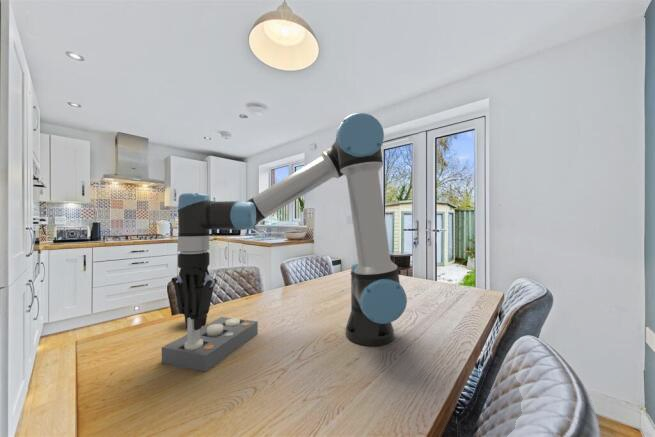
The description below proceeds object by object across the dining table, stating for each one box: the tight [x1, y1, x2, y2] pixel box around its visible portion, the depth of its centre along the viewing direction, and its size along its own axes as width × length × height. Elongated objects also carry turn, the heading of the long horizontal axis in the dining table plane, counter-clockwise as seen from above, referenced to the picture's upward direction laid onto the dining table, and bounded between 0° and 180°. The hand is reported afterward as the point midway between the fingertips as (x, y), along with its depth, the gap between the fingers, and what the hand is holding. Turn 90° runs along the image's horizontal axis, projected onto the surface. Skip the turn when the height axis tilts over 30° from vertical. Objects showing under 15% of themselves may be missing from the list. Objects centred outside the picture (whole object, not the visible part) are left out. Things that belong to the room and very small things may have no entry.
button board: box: [161, 316, 259, 372], centre depth 78 cm, size 14×23×4 cm, turn 163°
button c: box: [184, 339, 203, 351], centre depth 71 cm, size 4×4×2 cm
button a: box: [225, 317, 241, 327], centre depth 86 cm, size 4×4×2 cm
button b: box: [207, 324, 223, 337], centre depth 78 cm, size 4×4×2 cm
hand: (193, 341), depth 71 cm, fingers closed
